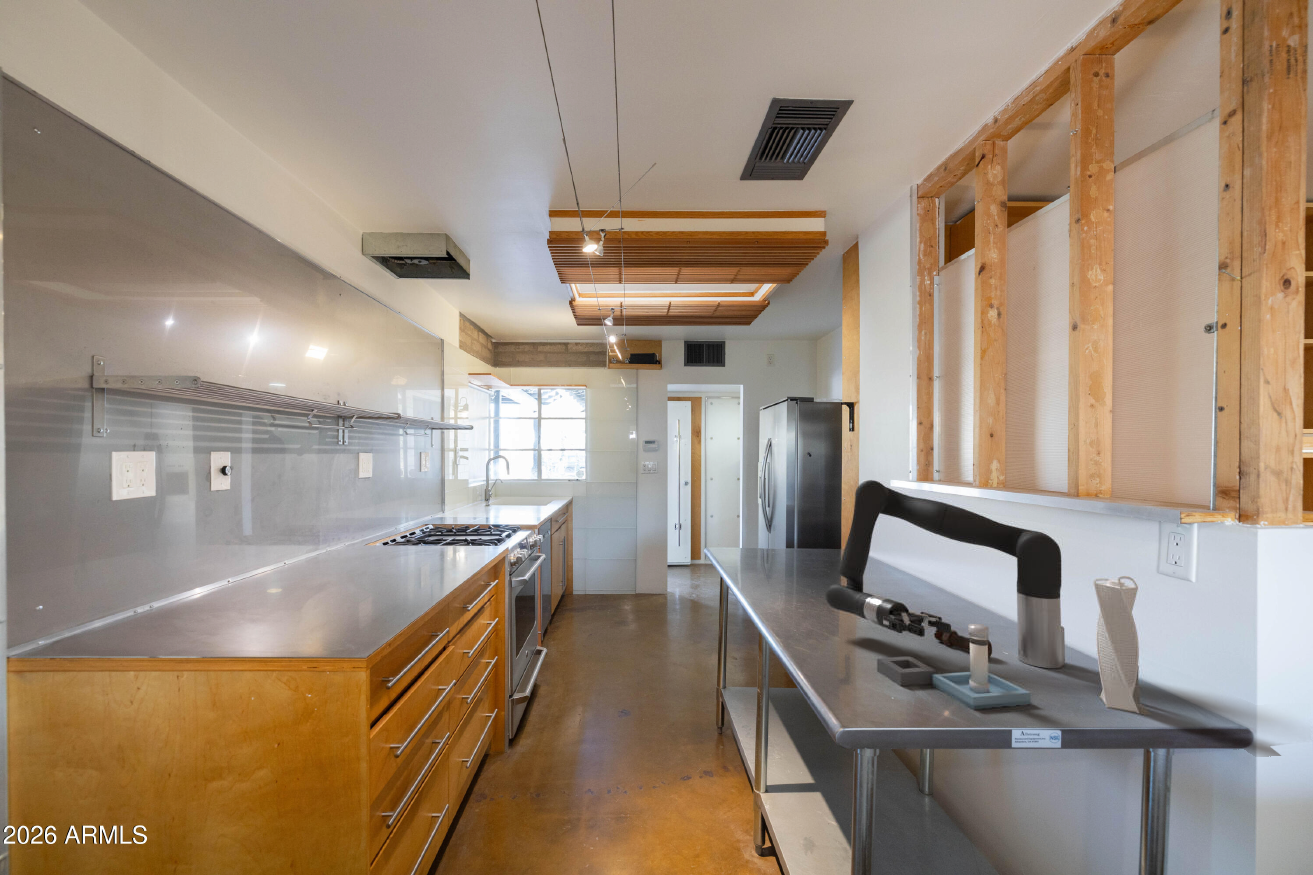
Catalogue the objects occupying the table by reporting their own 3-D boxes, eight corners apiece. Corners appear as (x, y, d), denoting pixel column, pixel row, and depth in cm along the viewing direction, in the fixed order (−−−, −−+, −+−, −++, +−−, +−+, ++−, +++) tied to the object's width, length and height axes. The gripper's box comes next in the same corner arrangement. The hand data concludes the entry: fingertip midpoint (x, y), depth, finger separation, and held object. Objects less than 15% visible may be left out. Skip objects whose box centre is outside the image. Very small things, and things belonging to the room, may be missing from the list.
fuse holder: (909, 668, 132) (909, 656, 132) (935, 683, 123) (935, 670, 124) (877, 670, 131) (877, 658, 131) (900, 685, 122) (900, 672, 122)
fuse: (980, 686, 120) (979, 623, 121) (993, 693, 116) (992, 628, 117) (965, 687, 119) (964, 624, 120) (978, 695, 116) (977, 629, 116)
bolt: (939, 647, 154) (988, 664, 140) (928, 639, 153) (975, 656, 139) (946, 628, 155) (995, 643, 141) (935, 620, 154) (982, 635, 140)
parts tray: (985, 681, 125) (985, 670, 125) (1030, 704, 113) (1030, 692, 113) (932, 685, 122) (932, 674, 122) (973, 709, 110) (973, 697, 111)
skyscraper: (1153, 719, 108) (1149, 579, 109) (1102, 710, 111) (1098, 575, 113) (1138, 703, 115) (1134, 572, 116) (1091, 695, 119) (1088, 568, 120)
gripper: (864, 600, 141) (914, 617, 126) (905, 596, 146) (958, 612, 131) (864, 629, 141) (914, 649, 126) (906, 624, 146) (959, 643, 131)
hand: (937, 630), depth 128 cm, fingers open, 8 cm apart
